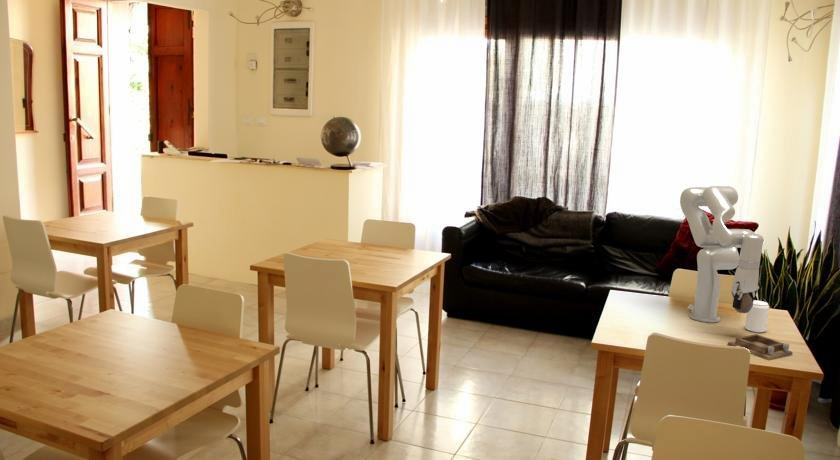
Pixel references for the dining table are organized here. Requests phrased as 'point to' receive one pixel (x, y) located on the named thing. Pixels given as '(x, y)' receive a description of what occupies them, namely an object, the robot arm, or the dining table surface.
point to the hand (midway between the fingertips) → (742, 306)
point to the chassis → (762, 346)
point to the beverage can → (757, 317)
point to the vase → (745, 303)
